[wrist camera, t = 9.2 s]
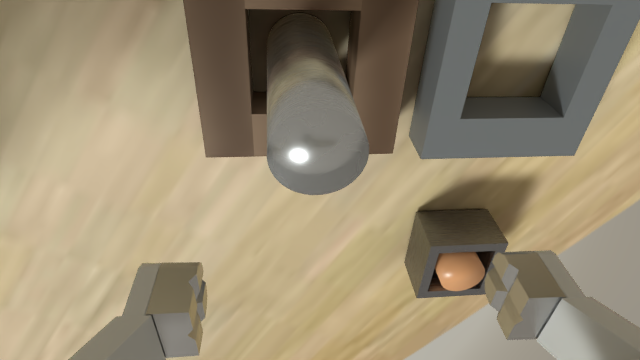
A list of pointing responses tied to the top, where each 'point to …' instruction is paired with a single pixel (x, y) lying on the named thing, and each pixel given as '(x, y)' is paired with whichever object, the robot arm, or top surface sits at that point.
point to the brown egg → (459, 270)
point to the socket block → (251, 107)
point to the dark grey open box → (450, 247)
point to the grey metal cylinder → (310, 110)
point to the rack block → (515, 112)
